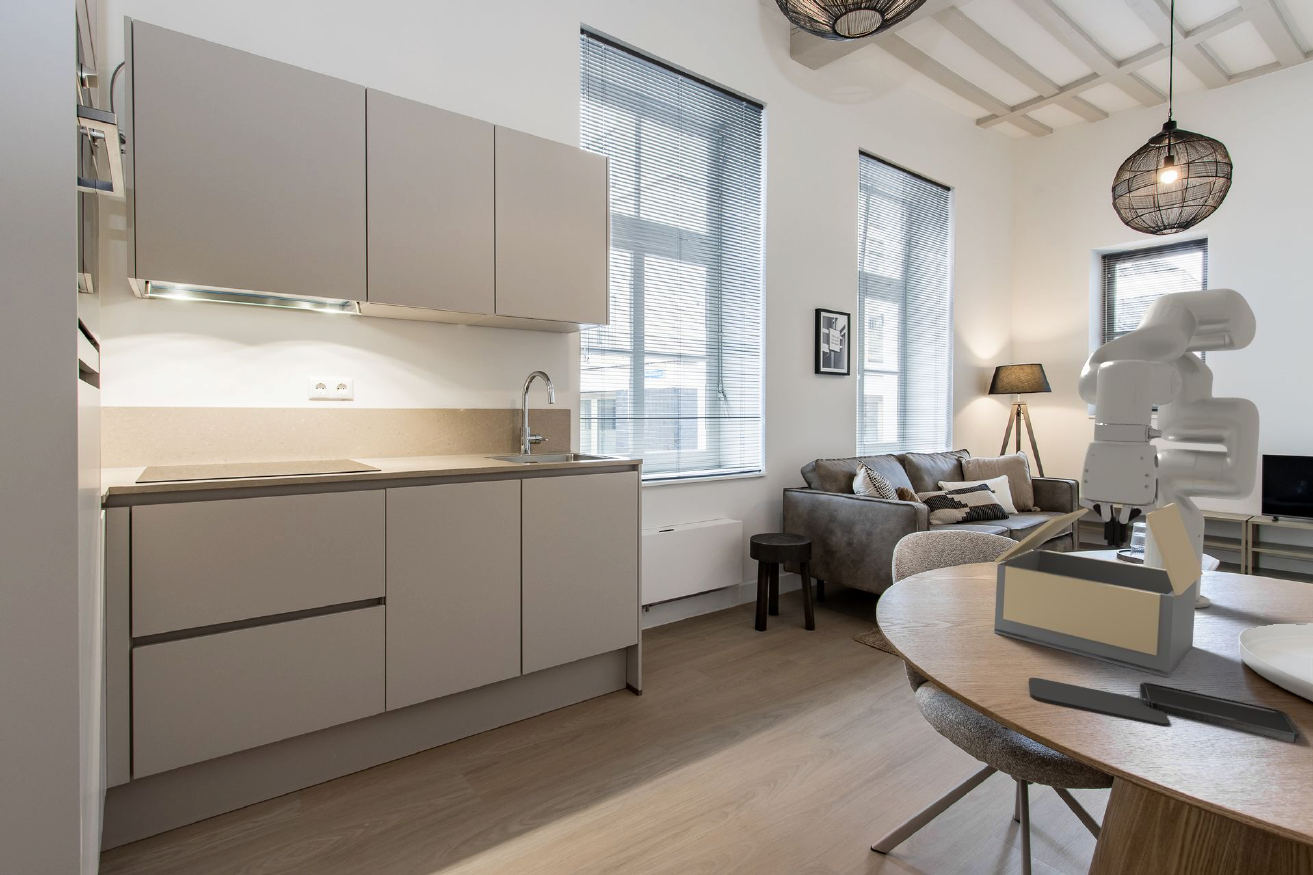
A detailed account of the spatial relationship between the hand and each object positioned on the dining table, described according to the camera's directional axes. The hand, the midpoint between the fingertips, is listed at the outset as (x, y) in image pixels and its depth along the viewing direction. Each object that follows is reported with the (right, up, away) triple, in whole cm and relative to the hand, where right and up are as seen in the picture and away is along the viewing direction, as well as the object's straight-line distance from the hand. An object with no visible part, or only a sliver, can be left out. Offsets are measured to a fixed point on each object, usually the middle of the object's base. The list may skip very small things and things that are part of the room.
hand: (1115, 545), depth 107 cm
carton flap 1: (-7, 0, +8) cm, 11 cm away
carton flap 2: (+5, +1, -6) cm, 8 cm away
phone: (-18, -18, -21) cm, 33 cm away
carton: (-2, -16, +3) cm, 17 cm away
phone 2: (-5, -18, -24) cm, 30 cm away
